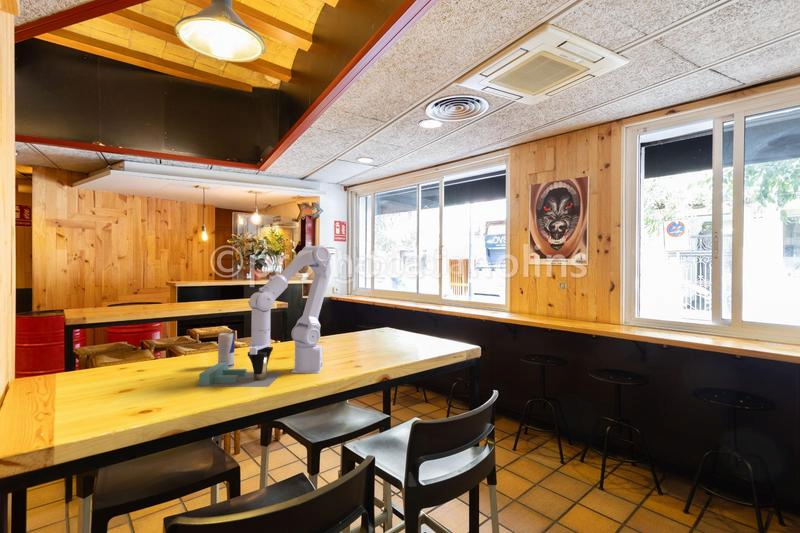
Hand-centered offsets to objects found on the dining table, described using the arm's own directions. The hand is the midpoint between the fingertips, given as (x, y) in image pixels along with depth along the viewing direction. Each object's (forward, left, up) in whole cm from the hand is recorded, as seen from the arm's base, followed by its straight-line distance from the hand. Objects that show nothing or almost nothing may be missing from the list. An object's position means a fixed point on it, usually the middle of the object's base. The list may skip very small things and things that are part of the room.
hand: (260, 372), depth 124 cm
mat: (+6, 0, -2) cm, 6 cm away
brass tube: (0, 0, -2) cm, 2 cm away
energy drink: (+17, -15, -3) cm, 23 cm away
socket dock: (+10, 0, -2) cm, 10 cm away
